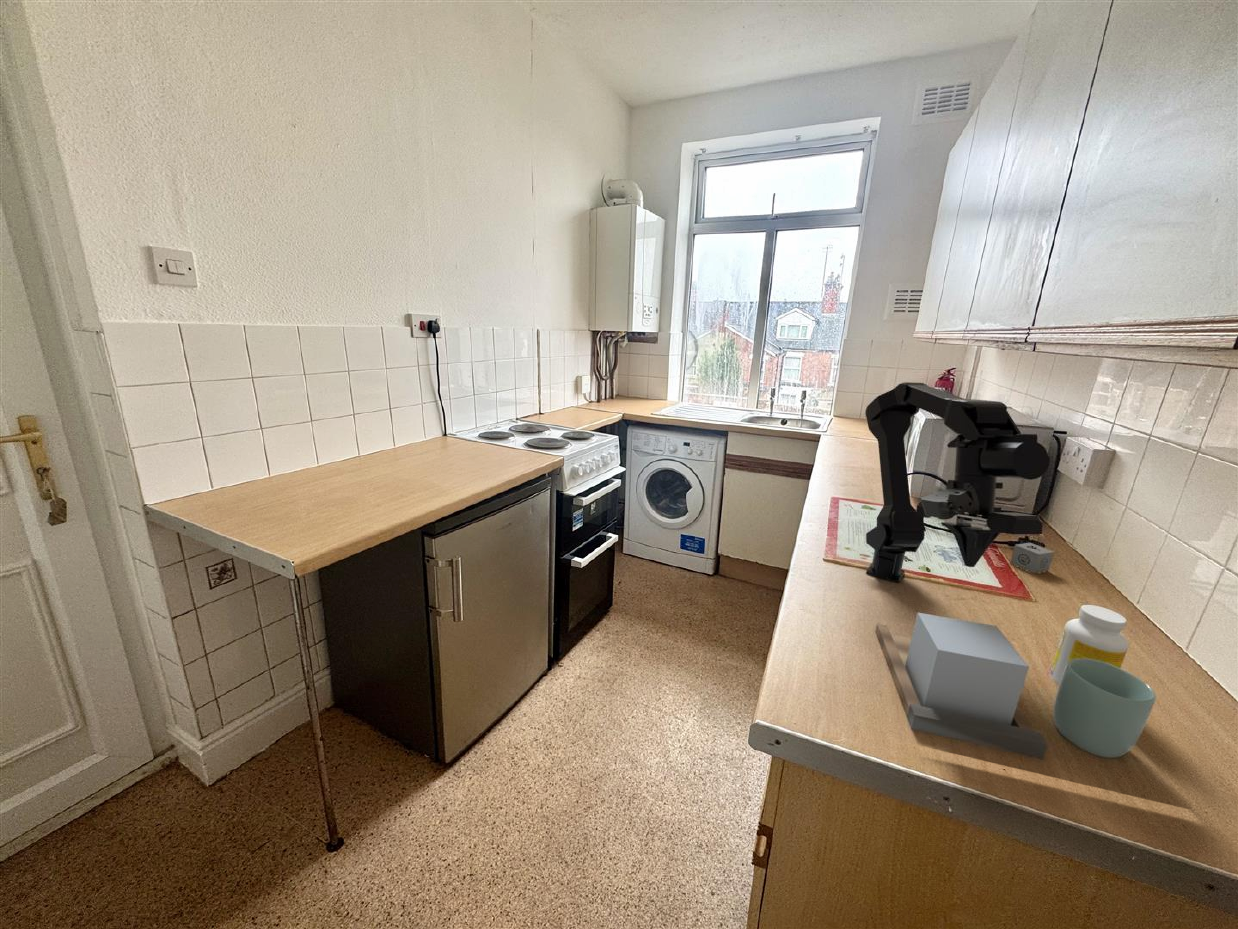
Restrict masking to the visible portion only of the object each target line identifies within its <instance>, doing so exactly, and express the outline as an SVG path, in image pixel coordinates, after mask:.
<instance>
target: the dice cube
mask: <svg viewBox="0 0 1238 929" xmlns="http://www.w3.org/2000/svg"><path fill="white" fill-rule="evenodd" d="M1054 554H1055V551H1054V550H1050V549H1047V548H1045V547H1043V546H1040V545H1037V544H1034V543H1032V542H1025V543H1018V544H1017V543H1016V544H1014V547H1013V551H1012V554H1011V558H1010V561H1009V565H1011V564H1013V565H1015V566H1018V567H1020V568H1022V569H1024V570H1023V571H1025V570H1028V571H1029V572H1030V574H1031V573H1033V574H1032V575H1035V574H1034V573H1037V574H1040V573H1039V572H1043V573H1045V572H1044V571H1048V570H1050V567H1051V564H1052V561H1053V557H1054ZM1013 565H1012V566H1013ZM1015 566H1014V567H1015ZM1018 567H1017V568H1018ZM1020 568H1019V569H1020ZM1022 569H1021V570H1022ZM1029 572H1028V573H1029ZM1048 572H1049V571H1048Z"/></svg>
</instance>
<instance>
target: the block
mask: <svg viewBox="0 0 1238 929" xmlns="http://www.w3.org/2000/svg"><path fill="white" fill-rule="evenodd" d="M911 638H912V639H911V643H910V647H909V652H908V656H907V660H906V665H905V669H906V671H907V674H908V676H909V679H910V681H911V683H912V686H913V688H914V690H915V693H916V695H917V698H918V700H919V702H920V705H921V706H923V707H928V708H932V709H937V710H941V711H946V712H951V713H955V714H960V715H964V716H969V717H974V718H978V719H983V720H987V721H992V722H997V723H1001V724H1006V725H1010V726H1011V723H1012V720H1013V717H1014V713H1015V710H1016V707H1017V705H1018V703H1019V700H1020V697H1021V693H1022V691H1023V687H1024V684H1025V681H1026V678H1027V674H1028V672H1029V668H1030V666H1029V664H1028V663H1027V662H1026V661H1025V659H1024V658H1023V657H1022V656H1021V655H1020V653H1019V652H1018V651H1017V650H1016V648H1015V647H1014V646H1013V645H1012V643H1011V642H1010V641H1009V640H1008V638H1007V637H1006V636H1005V634H1004V633H1003V632H1002V631H1001V630H1000V628H999V627H998V626H997V625H993V624H987V623H981V622H975V621H971V620H970V621H969V620H963V619H959V618H954V617H953V618H952V617H947V616H941V615H934V614H930V613H929V614H928V613H922V612H917V613H916V617H915V622H914V626H913V631H912V634H911Z"/></svg>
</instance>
